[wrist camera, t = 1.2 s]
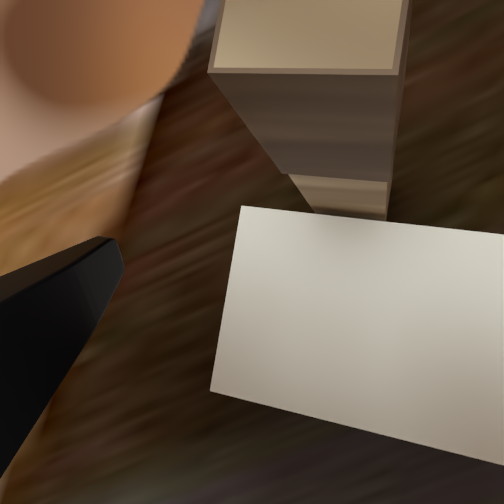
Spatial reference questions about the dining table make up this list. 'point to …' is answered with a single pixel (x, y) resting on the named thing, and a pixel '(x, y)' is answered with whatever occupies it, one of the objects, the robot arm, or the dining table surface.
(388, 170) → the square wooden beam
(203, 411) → the dining table surface
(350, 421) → the cream rectangular box
